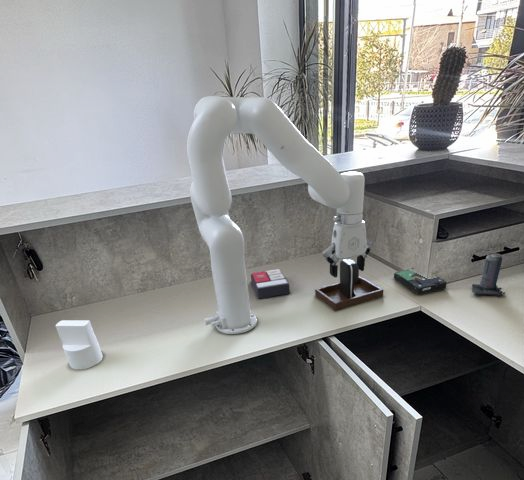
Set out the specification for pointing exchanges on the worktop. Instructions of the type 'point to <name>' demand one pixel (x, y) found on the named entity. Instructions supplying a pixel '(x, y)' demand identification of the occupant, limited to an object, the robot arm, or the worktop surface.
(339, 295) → the tray
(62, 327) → the cylinder with rectangular tab
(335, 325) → the worktop surface
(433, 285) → the disk drive
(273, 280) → the calculator
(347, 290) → the battery charger
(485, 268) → the grey cylinder on base
